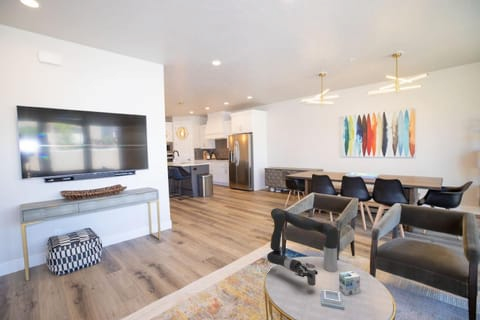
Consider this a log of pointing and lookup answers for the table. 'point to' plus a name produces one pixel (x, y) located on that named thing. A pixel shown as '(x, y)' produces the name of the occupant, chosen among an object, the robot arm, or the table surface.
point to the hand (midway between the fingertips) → (314, 274)
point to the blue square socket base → (332, 299)
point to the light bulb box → (349, 282)
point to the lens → (312, 271)
